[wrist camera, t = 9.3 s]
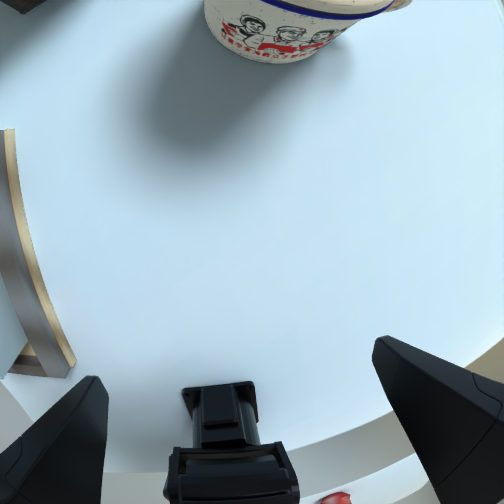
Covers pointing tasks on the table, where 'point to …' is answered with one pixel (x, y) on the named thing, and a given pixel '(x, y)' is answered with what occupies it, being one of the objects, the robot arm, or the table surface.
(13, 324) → the light blue block
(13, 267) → the grey and beige frame
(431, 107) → the table surface
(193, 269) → the table surface
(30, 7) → the manual coffee grinder
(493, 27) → the table surface
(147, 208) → the table surface
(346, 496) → the liquor
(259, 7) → the teacup with lid
